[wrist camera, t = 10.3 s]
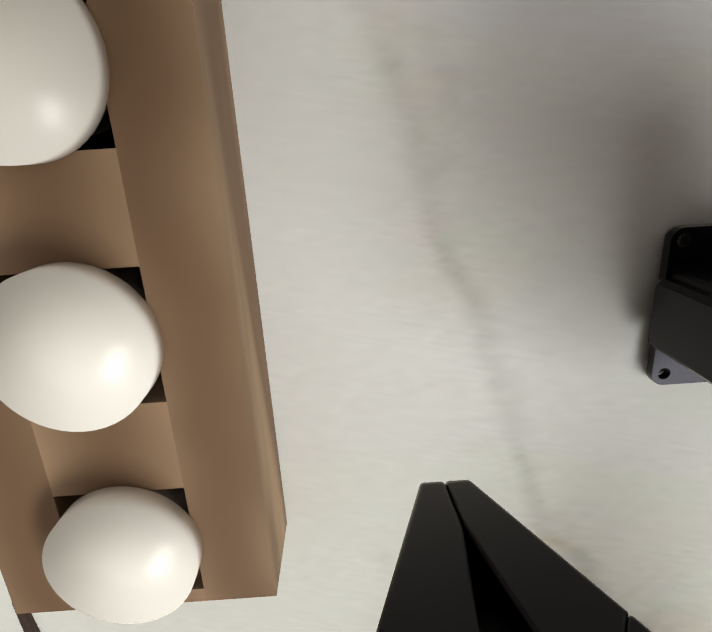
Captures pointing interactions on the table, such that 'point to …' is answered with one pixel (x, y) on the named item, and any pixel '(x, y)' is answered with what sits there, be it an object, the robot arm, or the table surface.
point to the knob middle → (77, 345)
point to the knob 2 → (124, 554)
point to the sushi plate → (27, 622)
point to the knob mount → (155, 309)
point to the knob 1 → (50, 80)
